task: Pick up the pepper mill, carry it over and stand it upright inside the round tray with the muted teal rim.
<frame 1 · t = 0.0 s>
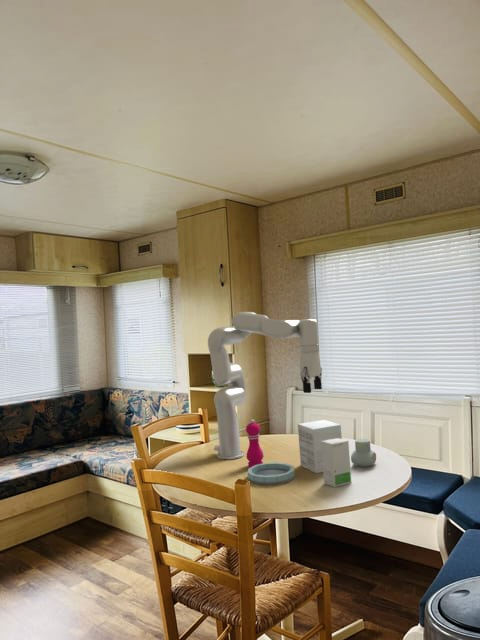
hand: (312, 390, 197), 31 cm above the table, tool pointing down, fingers open, 9 cm apart
air freshener: (364, 465, 195), on the table
skincare box: (337, 483, 176), on the table
pepper mill: (255, 466, 204), on the table
supplement box: (321, 467, 197), on the table
round tray: (271, 477, 188), on the table
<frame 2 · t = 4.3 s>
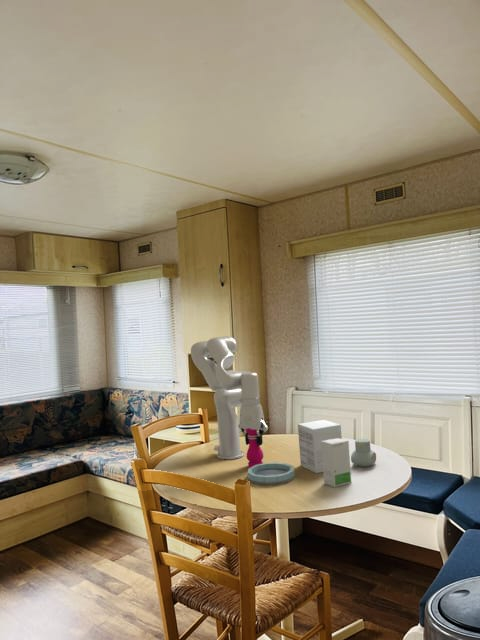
hand: (254, 444, 204), 9 cm above the table, tool pointing down, fingers closed on pepper mill, 5 cm apart
pepper mill: (255, 466, 204), on the table, touching gripper
everything else where it was.
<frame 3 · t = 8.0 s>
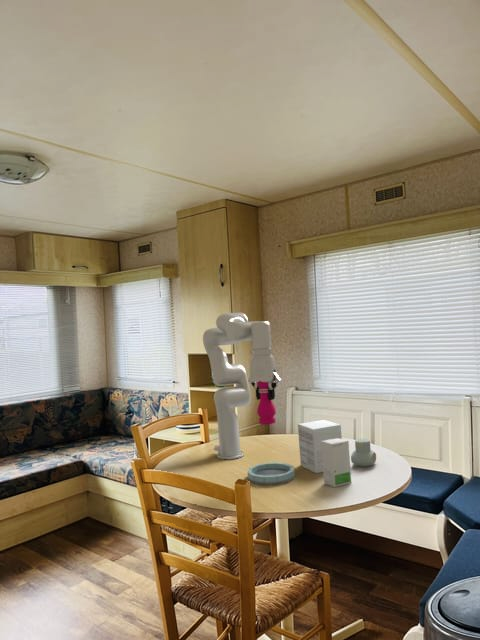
hand: (265, 398, 188), 31 cm above the table, tool pointing down, fingers closed on pepper mill, 5 cm apart
pepper mill: (267, 423, 188), point 21 cm above the table, touching gripper
everything else where it was.
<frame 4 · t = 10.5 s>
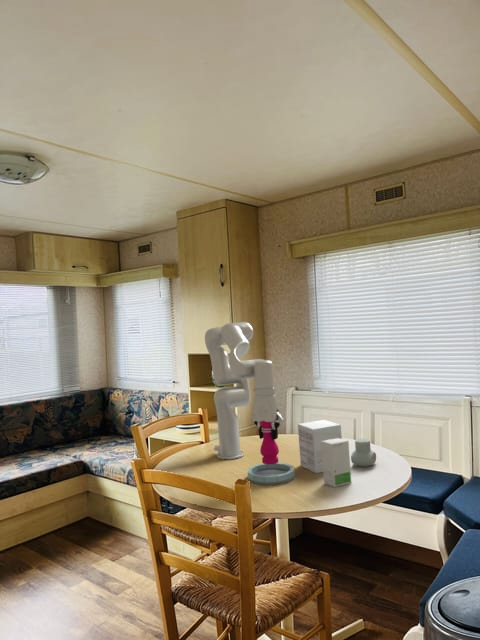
hand: (268, 438, 188), 15 cm above the table, tool pointing down, fingers closed on pepper mill, 5 cm apart
pepper mill: (270, 462, 188), point 6 cm above the table, touching gripper
everything else where it was.
when the fingers open (12 cm above the table, at t = 12.1 s): pepper mill drops 2 cm, resting on round tray.
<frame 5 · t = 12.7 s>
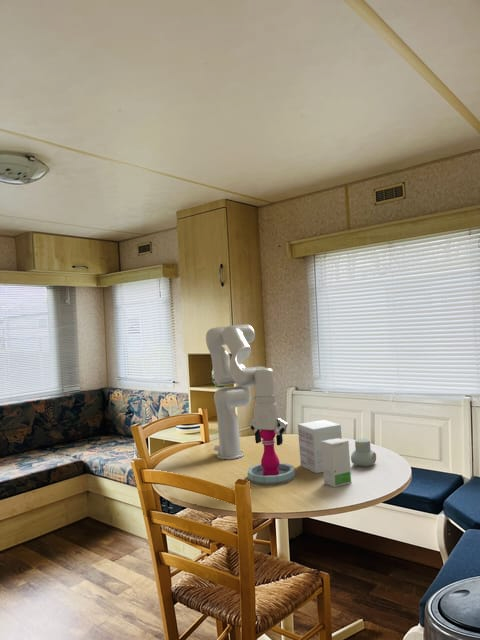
hand: (269, 443, 188), 13 cm above the table, tool pointing down, fingers open, 9 cm apart
pepper mill: (271, 474, 188), point 1 cm above the table, touching round tray
everything else where it was.
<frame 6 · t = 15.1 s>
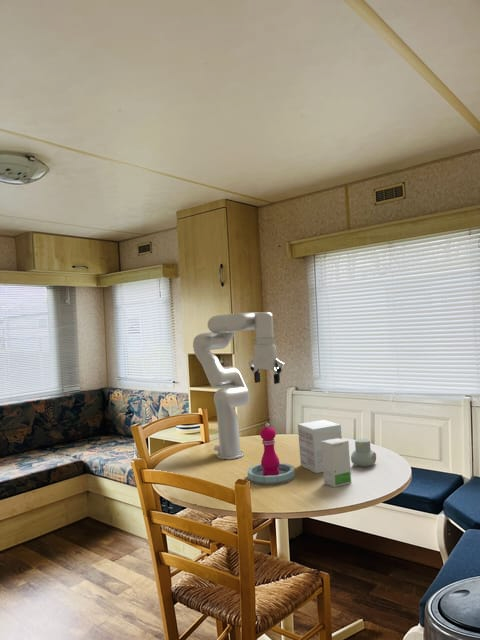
hand: (267, 382, 200), 36 cm above the table, tool pointing down, fingers open, 9 cm apart
nothing on the table moved.
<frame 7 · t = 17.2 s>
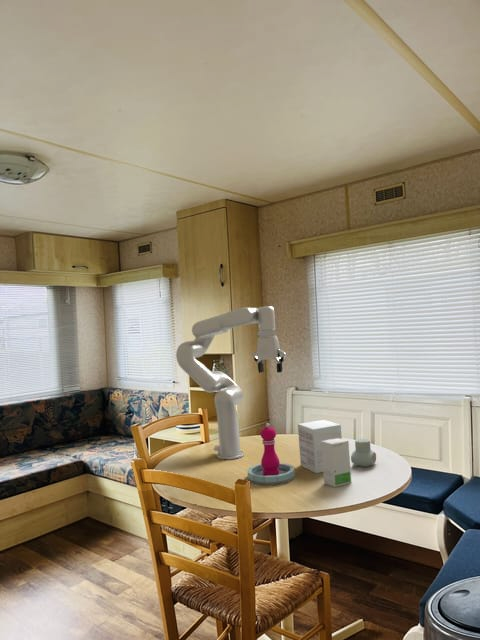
hand: (270, 372, 215), 38 cm above the table, tool pointing down, fingers open, 9 cm apart
nothing on the table moved.
at the end: pepper mill inside the target area on the round tray (0.1 cm from its centre), point 1.0 cm above the round tray's base; pepper mill tilted 0°; the gripper is holding nothing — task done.
